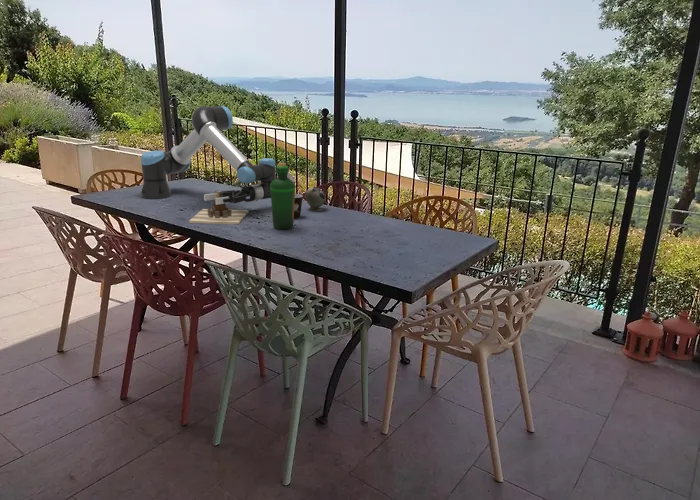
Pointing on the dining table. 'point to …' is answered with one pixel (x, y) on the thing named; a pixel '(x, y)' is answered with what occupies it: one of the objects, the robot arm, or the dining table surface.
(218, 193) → the utensil holder
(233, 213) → the ring collar board
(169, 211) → the dining table surface
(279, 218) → the bottle
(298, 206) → the coffee mug
